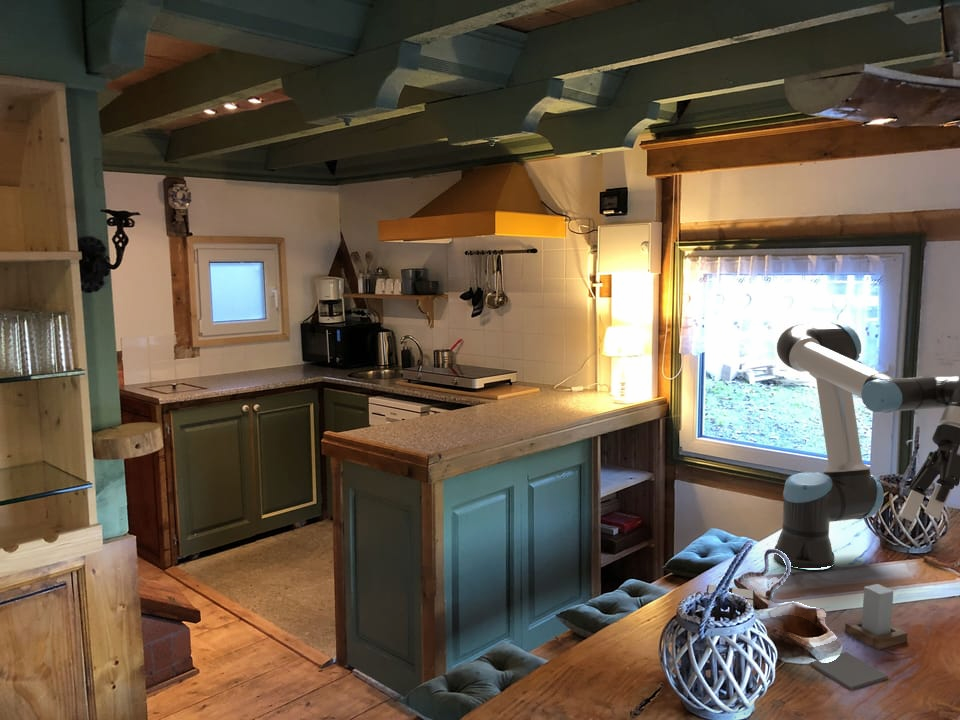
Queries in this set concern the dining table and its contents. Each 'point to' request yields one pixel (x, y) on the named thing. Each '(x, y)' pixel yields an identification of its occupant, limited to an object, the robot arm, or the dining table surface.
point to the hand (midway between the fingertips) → (918, 517)
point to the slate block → (877, 609)
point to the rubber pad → (850, 671)
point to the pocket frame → (875, 641)
